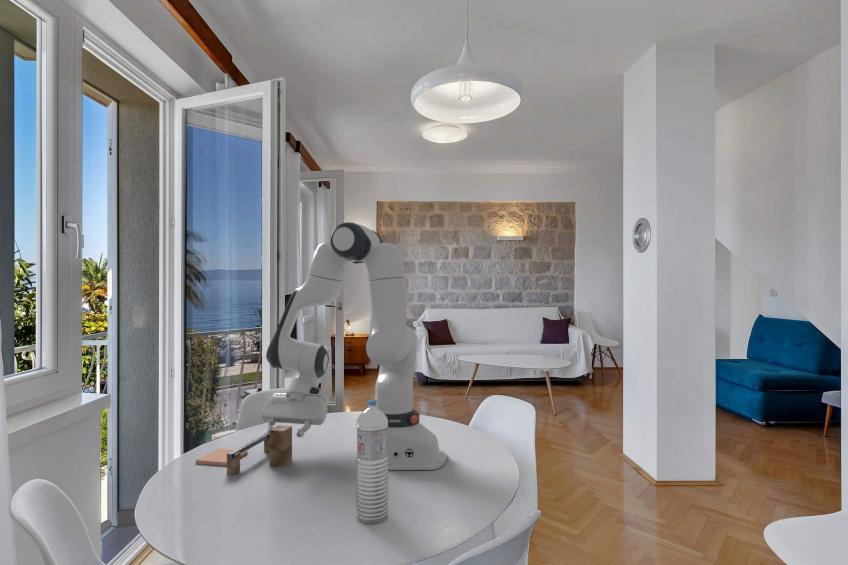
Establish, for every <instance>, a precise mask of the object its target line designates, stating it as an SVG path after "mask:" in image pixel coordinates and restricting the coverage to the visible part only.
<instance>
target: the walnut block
mask: <svg viewBox="0 0 848 565" xmlns="http://www.w3.org/2000/svg"><path fill="white" fill-rule="evenodd" d="M273 427H274V428H273V429H271V430H270V452H269V462H268V463H269V466H271V467H281V468H283V467H284V468H285V467H286V466H287V465H289V464H290V463H292V462H293V426H291V425H276V426H273ZM288 463H289V464H288Z"/></svg>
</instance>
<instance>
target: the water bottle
mask: <svg viewBox="0 0 848 565" xmlns="http://www.w3.org/2000/svg"><path fill="white" fill-rule="evenodd" d="M376 403H377V401H376V400H375V399H369V400H368V401H367V406H368V407H367V408H365V409H364V410H363V411H362V412H361V413H360V415H359V416H358V417H357V420H356V518H357V520H358V521H359V522H360V523H362V524H364V525H365V524H366V525H376V524H380V523H382V522H384V521H385V520H386V519H387V518H388V515H389V470H388V432H387V427H388V419H387V417H386V415H385V414H384V413H383V412H382V411H381V410H380V409H378V408H377V407H376V405H377V404H376Z"/></svg>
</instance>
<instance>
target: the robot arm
mask: <svg viewBox="0 0 848 565" xmlns="http://www.w3.org/2000/svg"><path fill="white" fill-rule="evenodd" d="M329 236H330V237H329V241H325V242H322V243H320V244H318V246H317V247H316V249H315V251H314V254H313V256H312V259H311V262H310V265H309V269H308V274H307V278H306V279H305V281H304V283H303V284H302V285H301V286H300V287H298V288H297V287H296V288H295V289H294V291H293V292H292V293H291V295H290V297H289V299H288V302H287V304H286V306H285V308H284V310H283V313H282V315H281V318H280V320H279V324H278V326H277V327H276V331H275V333H274V334H273V337H272V339H271V340H270V341H271V342H270V343H269V345H268V347H267V350H266V355H265V359H266V361H267V362H268V364H269V365H270V366H271V368H273V369H279V370H288V371H293V372H294V373H295V374H294V377H293V378H292V379H291V381H290V383H289V386H288V388H287V390H286V393H284V392H283V393H280V392H275V393H274V394H271V395H269V396H268V399H267V400H266V402H265V403H264V405H263V407H262V409H261V410H260V412H259V415H260V417H261V419H262V420H263V421H264V422H267V423H268V429H267V431H266V432H267V433H268V435H270V430H271V429H273V428H274V427H275V425H276V423H279V424H280V423H282V424H294V425H295V424H296V425H303V426H302V427H301V428H298V429H297V432H296V437H297V438H303V437H304V436H305V433H306V432H307V431H309V430H310V429H311V426H321V425H322V424H324V423H325V421H326V418H327V414H328V405H329V401H330V400H329V398H328V396H327V394H326V392H325V391H324V390H323V389H322V388H321V387H319V384H320V383H321V381H322V380H323V377H324V375H325V373H326V372H327V369H328V365H329V360H330V355H329V353H328V351H327V349H326V347H325V346H324V345H321V344H319V343H315V342H310V341H304V340H299V339H295V338H293V337H291V333H292V332H293V329H294V326H295V324H296V321H297V319H298V317H299V315H300V313H301V312H302V311H303V310H305V309H308V308H315V307H321V306H322V307H323V306H326V305H329V304H332V303H333V302H335V301H336V300H338V298H339V297H340V295H341V293H342V289H343V285H344V280H345V275H346V271H347V269H348V267H349V265H350V264H351V263H353V264H355V265H356V264H365V266H366V268H367V274H368V275H367V276H368V285H369V298H370V308H371V309H370V320H369V321H370V322H369V332H368V333H369V334H368V339H367V341H366V344H365V346H366V347H365V351H366V355H367V356H368V358H369V360H370V361H371V362H373V363H374V364H376V365H378V366H379V368H378V370H379V371H378V374H377V379H376V381H375V394H374V395H375V396H374V398H375V399H374V400H376V401H377V403H376V404H377V405H376V407H377V408H378V409H380V410H381V411H382V412H383V413H384V414H385V415H386V417H387V419H388V427H387V432H388V471H435V470H438V469H440V468H441V467H443V466H444V465H445V464H446V462H447V460H448V458H447V452H446V451H445V450H442V449H440V448H439V447H440V446H439V441H438V438H437V436H436V434H435V433H433V432H432V431H431V430H429V429H428V428H427V427H426V426H424V424H422V423H421V422H420V415H421V414H420V411H419V410H418V411H417V410H416V409H414V408H413V407H414V405H413V403H414V402H413V401H414V400H413V397H414V396H413V395H414V394H413V392H414V391H413V385H414V375H415V374H414V373H415V366H416V362H417V360H416V359H417V348H418V345H419V338H418V337H419V336H418V335H417V333H416V331H415V330H413V328H411V327H410V326H407V311H408V306H409V301H408V300H409V299H408V290H407V282H406V281H407V280H406V274H405V273H406V271H405V266H404V262H403V257H402V254H401V251H400V248H399V247H397V245H396V244H392V243H390V242H383V239H382V237H381V236H380V235H379V233H378V232H376V231H375V230H373V229H370V228H369V227H367V226H365V225H363V224H359V223H358V224H357V223H355V222H349V221H348V222H342V223H340V224H337V225H336V226H335V227H334V228H333V229H332V231H331V233H330V235H329Z"/></svg>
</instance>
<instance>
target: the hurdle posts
mask: <svg viewBox="0 0 848 565" xmlns="http://www.w3.org/2000/svg"><path fill="white" fill-rule="evenodd" d="M266 433H267V431H266V432H265V433H263V435H264V434H266ZM231 452H232V451H231ZM231 452H229V453H231ZM263 452H265V453H270V437H269V438H268V439H266V440H264V441H263ZM229 453H227V466H226V475H230V476H235V475H237V474H238V473H240V472H241V458H240V452H238V453H236V454H234V458H232V459H230V458H228V454H229Z"/></svg>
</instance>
